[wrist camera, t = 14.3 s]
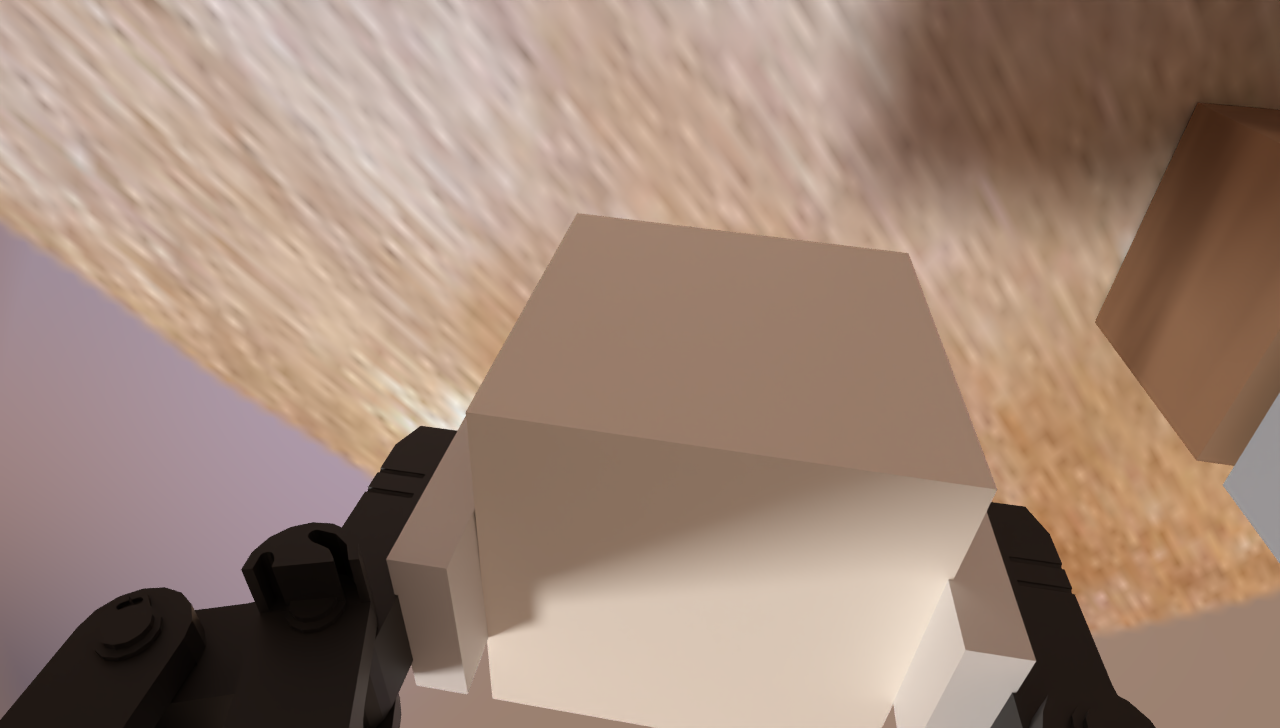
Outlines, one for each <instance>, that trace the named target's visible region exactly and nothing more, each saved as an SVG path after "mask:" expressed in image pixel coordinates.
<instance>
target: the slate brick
mask: <svg viewBox="0 0 1280 728" xmlns="http://www.w3.org/2000/svg"><path fill="white" fill-rule="evenodd" d="M1223 486H1224V488H1225V489H1226V490H1227V492H1228V493H1229V494H1230V496H1231V497H1232V498H1233V500H1234V501H1235V503H1236V504H1237V505H1238V507H1239V508H1240V509H1241V511H1242V512H1243V514H1244V515H1245V516H1246V518H1247V519H1248V520H1249V522H1250V523H1251V525H1252V526H1253V527H1254V529H1255V530H1256V531H1257V533H1258V534H1259V535H1260V537H1261V538H1262V540H1263V541H1264V542H1265V544H1266V545H1267V546H1268V548H1269V549H1270V551H1271V552H1272V553H1273V555H1274V556H1275V557H1276V559H1277V560H1278V562H1279V563H1280V393H1279V394H1278V396H1277V398H1276V399H1275V401H1274V403H1273V404H1272V406H1271V407H1270V409H1269V411H1268V412H1267V414H1266V416H1265V417H1264V419H1263V420H1262V422H1261V424H1260V425H1259V427H1258V429H1257V430H1256V432H1255V433H1254V435H1253V437H1252V438H1251V440H1250V441H1249V443H1248V445H1247V446H1246V448H1245V450H1244V451H1243V453H1242V454H1241V456H1240V458H1239V459H1238V461H1237V463H1236V464H1235V466H1234V467H1233V469H1232V471H1231V472H1230V474H1229V476H1228V477H1227V479H1226V480H1225V482H1224V484H1223Z"/></svg>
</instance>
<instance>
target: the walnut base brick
mask: <svg viewBox="0 0 1280 728" xmlns="http://www.w3.org/2000/svg"><path fill="white" fill-rule="evenodd" d="M1095 323H1096V324H1097V326H1098V327H1099V328H1100V330H1101V331H1102V332H1103V334H1104V335H1105V337H1106V338H1107V339H1108V341H1109V342H1110V343H1111V345H1112V346H1113V347H1114V349H1115V350H1116V352H1117V353H1118V354H1119V356H1120V357H1121V358H1122V360H1123V361H1124V362H1125V364H1126V365H1127V367H1128V368H1129V369H1130V371H1131V372H1132V373H1133V375H1134V376H1135V377H1136V379H1137V380H1138V381H1139V383H1140V384H1141V386H1142V387H1143V388H1144V390H1145V391H1146V392H1147V394H1148V395H1149V396H1150V398H1151V399H1152V401H1153V402H1154V403H1155V405H1156V406H1157V407H1158V409H1159V410H1160V411H1161V413H1162V414H1163V416H1164V417H1165V418H1166V420H1167V421H1168V422H1169V424H1170V425H1171V426H1172V428H1173V429H1174V431H1175V432H1176V433H1177V435H1178V436H1179V437H1180V439H1181V440H1182V441H1183V443H1184V444H1185V446H1186V447H1187V448H1188V450H1189V451H1190V452H1191V454H1192V455H1193V456H1194V458H1195V459H1196V460H1197V461H1204V462H1211V463H1218V464H1225V465H1233V466H1235V464H1236V463H1237V461H1238V459H1239V458H1240V456H1241V454H1242V453H1243V451H1244V450H1245V448H1246V446H1247V445H1248V443H1249V441H1250V440H1251V438H1252V437H1253V435H1254V433H1255V432H1256V430H1257V429H1258V427H1259V425H1260V424H1261V422H1262V420H1263V419H1264V417H1265V416H1266V414H1267V412H1268V411H1269V409H1270V407H1271V406H1272V404H1273V403H1274V401H1275V399H1276V398H1277V396H1278V394H1279V393H1280V110H1274V109H1263V108H1252V107H1241V106H1230V105H1218V104H1207V103H1197V105H1196V108H1195V110H1194V112H1193V114H1192V116H1191V118H1190V120H1189V123H1188V125H1187V127H1186V129H1185V131H1184V133H1183V135H1182V137H1181V140H1180V142H1179V144H1178V146H1177V148H1176V150H1175V152H1174V155H1173V157H1172V159H1171V161H1170V163H1169V165H1168V167H1167V170H1166V172H1165V174H1164V176H1163V178H1162V180H1161V182H1160V184H1159V187H1158V189H1157V191H1156V193H1155V195H1154V197H1153V199H1152V202H1151V204H1150V206H1149V208H1148V210H1147V212H1146V214H1145V216H1144V219H1143V221H1142V223H1141V225H1140V227H1139V229H1138V231H1137V234H1136V236H1135V238H1134V240H1133V242H1132V244H1131V246H1130V249H1129V251H1128V253H1127V255H1126V257H1125V259H1124V261H1123V263H1122V266H1121V268H1120V270H1119V272H1118V274H1117V276H1116V278H1115V281H1114V283H1113V285H1112V287H1111V289H1110V291H1109V293H1108V295H1107V298H1106V300H1105V302H1104V304H1103V306H1102V308H1101V310H1100V313H1099V315H1098V317H1097V319H1096V321H1095Z"/></svg>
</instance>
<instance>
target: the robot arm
mask: <svg viewBox="0 0 1280 728" xmlns="http://www.w3.org/2000/svg"><path fill="white" fill-rule="evenodd" d="M1061 565H1062V563H1061V560H1060V558H1059V555H1058V553H1057V551H1056V548H1055V546H1054V543H1053V541H1052V539H1051V536H1050V534H1049V533H1048V532H1047V531H1046V530H1045V528H1044V527H1043V526H1042V525H1041V524H1040V523H1039V522H1038V521H1037V520H1036V518H1035V517H1034V516H1033V515H1032V514H1031V513H1030V512H1029V511H1028V509H1027V508H1026V507H1023V506H1015V505H1008V504H1001V503H993V502H991V503H990V505H989V507H988V509H987V512H986V514H985V516H984V518H983V520H982V522H981V524H980V526H979V528H978V530H977V532H976V534H975V536H974V538H973V540H972V542H971V545H970V547H969V549H968V551H967V553H966V555H965V557H964V559H963V561H962V563H961V565H960V567H959V569H958V571H957V573H956V576H955V578H954V580H949V579H948V581H947V583H946V585H945V588H944V590H943V592H942V594H941V597H940V599H939V601H938V603H937V606H936V608H935V610H934V612H933V615H932V617H931V619H930V621H929V624H928V626H927V628H926V630H925V633H924V635H923V637H922V639H921V641H920V644H919V646H918V648H917V650H916V653H915V655H914V657H913V659H912V662H911V664H910V666H909V668H908V671H907V673H906V675H905V677H904V680H903V682H902V684H901V686H900V689H899V691H898V693H897V695H896V698H895V700H894V702H893V705H894V711H895V718H896V725H897V728H1155V726H1154V725H1153V723H1152V722H1151V721H1150V720H1149V719H1148V718H1147V717H1146V716H1145V715H1144V714H1142V713H1141V712H1140V711H1139V710H1138V709H1137V708H1136V707H1134V706H1133V705H1132V704H1131V703H1130V702H1129V701H1127V700H1125V699H1123V698H1121V697H1119V696H1118V695H1117V693H1116V691H1115V690H1114V688H1113V686H1112V683H1111V681H1110V679H1109V676H1108V674H1107V671H1106V669H1105V667H1104V664H1103V662H1102V660H1101V657H1100V655H1099V652H1098V650H1097V647H1096V645H1095V642H1094V640H1093V638H1092V635H1091V633H1090V630H1089V628H1088V625H1087V623H1086V621H1085V618H1084V616H1083V613H1082V611H1081V609H1080V606H1079V604H1078V601H1077V599H1076V597H1075V594H1072V592H1071V589H1072V587H1071V584H1070V582H1069V580H1068V577H1067V575H1066V572H1065V570H1064V569H1062V568H1061ZM242 572H243V575H244V577H245V580H246V582H247V584H248V587H249V589H250V591H251V594H252V596H253V598H254V601H255V602H252V603H248V604H240V605H232V606H224V607H218V608H209V609H202V610H194V608H193V607H192V605H191V603H190V602H189V601H188V600H187V598H186V597H185V596H184V595H183V594H182V593H181V592H177V591H175V590H171V589H168V588H165V587H164V588H148V589H141V590H138V591H135V592H132V593H128V594H125V595H122V596H120V597H118V598H116V599H114V600H112V601H111V602H109V603H107V604H105V605H104V606H102V607H100V608H99V609H97V610H96V611H94V612H93V613H92V614H91V615H90V616H89V617H88V618H87V619H86V620H85V621H84V622H83V623H82V624H80V625H79V626H78V627H77V629H76V630H75V631H74V632H73V633H72V635H71V636H70V637H69V638H68V639H67V641H66V642H65V643H64V644H63V645H62V647H61V648H60V649H59V650H58V651H57V653H56V654H55V655H54V656H53V657H52V659H51V660H50V661H49V662H48V663H47V665H46V666H45V667H44V668H43V669H42V671H41V672H40V673H39V674H38V675H37V677H36V678H35V679H34V680H33V681H32V683H31V684H30V685H29V686H28V687H27V689H26V690H25V691H24V692H23V693H22V695H21V696H20V697H19V698H18V699H17V701H16V702H15V703H14V704H13V705H12V707H11V708H10V709H9V710H8V711H7V713H6V714H5V715H4V716H3V717H2V719H1V720H0V728H400V721H401V706H400V697H399V694H398V693H399V691H400V688H401V686H402V684H403V682H404V679H405V677H406V675H407V673H408V671H409V668H410V666H411V665H412V669H413V673H414V677H415V681H416V685H418V686H423V687H429V688H435V689H441V690H447V691H452V692H458V693H464V694H468V692H469V689H470V686H471V683H472V681H473V678H474V676H475V673H476V670H477V667H478V665H479V662H480V659H481V657H482V654H483V651H484V648H485V646H486V643H487V640H488V630H487V621H486V613H485V605H484V597H483V588H482V580H481V570H480V559H479V548H478V538H477V527H476V516H475V505H474V495H473V484H472V473H471V463H470V452H469V441H468V430H467V420H466V417H465V418H464V420H463V422H462V424H461V426H460V427H459V429H458V431H454V430H447V429H440V428H433V427H425V426H420V427H419V428H417V429H416V430H415V431H413V432H412V433H411V434H409V435H408V436H406V437H405V438H404V439H402V440H401V441H400V442H398V443H397V444H396V445H395V446H394V448H393V450H392V451H391V453H390V454H389V456H388V457H387V459H386V460H385V462H384V463H383V465H382V466H381V470H380V473H379V472H378V473H377V474H376V476H375V477H374V479H373V480H372V482H371V483H370V485H369V487H368V491H367V492H365V493H364V494H363V496H362V497H361V499H360V500H359V502H358V503H357V505H356V507H355V508H354V510H353V511H352V513H351V514H350V516H349V517H348V519H347V520H346V522H345V523H344V525H343V527H342V528H341V527H339V526H337V525H335V524H330V523H314V522H313V523H308V524H303V525H298V526H294V527H290V528H288V529H286V530H284V531H282V532H280V533H278V534H276V535H273V536H271V537H270V538H268V539H267V540H266V541H265V542H264V543H262V544H261V545H260V546H259V547H258V548H256V549H255V550H254V551H253V552H252V553H251V555H250V556H249V558H248V560H247V561H246V563H245V564H244V566H243V568H242Z"/></svg>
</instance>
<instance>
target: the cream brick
mask: <svg viewBox="0 0 1280 728" xmlns="http://www.w3.org/2000/svg"><path fill="white" fill-rule="evenodd" d="M466 420H467V430H468V441H469V452H470V463H471V473H472V484H473V495H474V505H475V516H476V527H477V538H478V548H479V559H480V570H481V580H482V588H483V597H484V605H485V613H486V621H487V630H488V640H487V644H488V655H489V666H490V677H491V688H492V698H493V699H499V700H504V701H510V702H515V703H521V704H526V705H532V706H537V707H543V708H549V709H554V710H560V711H565V712H571V713H577V714H582V715H588V716H593V717H599V718H605V719H610V720H616V721H622V722H627V723H632V724H638V725H643V726H649V727H655V728H882V726H883V724H884V722H885V720H886V718H887V716H888V714H889V712H890V710H891V707H892V705H893V702H894V700H895V698H896V695H897V693H898V691H899V689H900V686H901V684H902V682H903V680H904V677H905V675H906V673H907V671H908V668H909V666H910V664H911V662H912V659H913V657H914V655H915V653H916V650H917V648H918V646H919V644H920V641H921V639H922V637H923V635H924V633H925V630H926V628H927V626H928V624H929V621H930V619H931V617H932V615H933V612H934V610H935V608H936V606H937V603H938V601H939V599H940V597H941V594H942V592H943V590H944V588H945V585H946V583H947V581H948V579H949V580H954V578H955V576H956V573H957V571H958V569H959V567H960V565H961V563H962V561H963V559H964V557H965V555H966V553H967V551H968V549H969V547H970V545H971V542H972V540H973V538H974V536H975V534H976V532H977V530H978V528H979V526H980V524H981V522H982V520H983V518H984V516H985V514H986V512H987V509H988V507H989V505H990V503H991V501H992V499H993V497H994V495H995V493H996V491H997V488H996V485H995V483H994V480H993V477H992V475H991V472H990V469H989V467H988V464H987V461H986V459H985V456H984V453H983V451H982V448H981V445H980V443H979V440H978V437H977V435H976V432H975V429H974V427H973V424H972V421H971V419H970V416H969V413H968V411H967V408H966V405H965V403H964V400H963V397H962V395H961V392H960V390H959V387H958V384H957V382H956V379H955V376H954V374H953V371H952V368H951V366H950V363H949V360H948V358H947V355H946V352H945V350H944V347H943V344H942V342H941V339H940V336H939V334H938V331H937V328H936V326H935V323H934V320H933V318H932V315H931V312H930V310H929V307H928V304H927V302H926V299H925V296H924V294H923V291H922V288H921V286H920V283H919V280H918V278H917V275H916V272H915V270H914V267H913V264H912V262H911V259H910V256H909V254H908V253H902V252H894V251H885V250H877V249H869V248H860V247H852V246H844V245H836V244H827V243H819V242H811V241H803V240H794V239H786V238H778V237H769V236H761V235H753V234H745V233H736V232H728V231H720V230H711V229H703V228H695V227H687V226H678V225H670V224H662V223H654V222H645V221H637V220H629V219H620V218H612V217H604V216H596V215H587V214H579V213H577V215H576V217H575V218H574V220H573V222H572V224H571V226H570V227H569V229H568V231H567V233H566V234H565V236H564V238H563V240H562V242H561V243H560V245H559V247H558V249H557V250H556V252H555V254H554V256H553V258H552V259H551V261H550V263H549V265H548V267H547V268H546V270H545V272H544V274H543V275H542V277H541V279H540V281H539V283H538V284H537V286H536V288H535V290H534V291H533V293H532V295H531V297H530V299H529V300H528V302H527V304H526V306H525V307H524V309H523V311H522V313H521V315H520V316H519V318H518V320H517V322H516V324H515V325H514V327H513V329H512V331H511V332H510V334H509V336H508V338H507V340H506V341H505V343H504V345H503V347H502V348H501V350H500V352H499V354H498V356H497V357H496V359H495V361H494V363H493V365H492V366H491V368H490V370H489V372H488V373H487V375H486V377H485V379H484V381H483V382H482V384H481V386H480V388H479V389H478V391H477V393H476V395H475V397H474V398H473V400H472V402H471V404H470V405H469V407H468V409H467V411H466Z"/></svg>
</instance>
